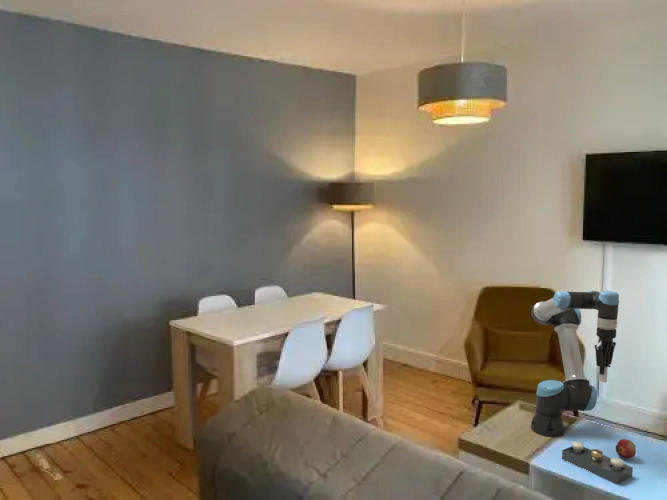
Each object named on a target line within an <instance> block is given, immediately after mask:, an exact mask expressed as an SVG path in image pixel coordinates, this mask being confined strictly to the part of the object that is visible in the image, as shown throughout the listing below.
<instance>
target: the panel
mask: <svg viewBox="0 0 667 500" xmlns="http://www.w3.org/2000/svg"><path fill="white" fill-rule="evenodd" d="M591 450H592V449H590V448H587V447H585V446H584V449H583V450H582V453H581V454H579V453H577V452H575V451H573V447H572V445H571V446H569V447H567V448H564V449H562V451H561V460H562V459H564V460H563V461H565V460H566V461H565V462H567V461H568V462H567V463H569V462H570V464H571V463H572V464H571V465H573V464H574V466H576V467H578V468H580V467H581V468H580V469H582V468H584V469H586V470H585V471H587V470H588V471H587V472H589V471H590V472H589V473H591V472H592V473H591V474H593V473H594V475H595V474H596V476H598V477H600V478H602V479H605V480H607V481H609V482H610V483H614V484H615V485H620V484H621V483H623V482H626V481H627V480H629V479H631V478H632V477H633V471H634V468H633V466H631V465H628V464H626V463H624V466H623V467H622V470H621V471H619V470H616V469H614V468H612V464H611V458H612V457H609V456H607V455H604V454H603V459H602V461H595V460H593V459H591ZM584 469H583V470H584Z"/></svg>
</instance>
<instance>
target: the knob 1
mask: <svg viewBox="0 0 667 500" xmlns="http://www.w3.org/2000/svg"><path fill="white" fill-rule="evenodd" d="M571 446H572V447H573V451H575V452H577V453H579V454H581V453H582V450H583V449H584V447H585V444H584V443H582V442H580V441H572V442H571Z"/></svg>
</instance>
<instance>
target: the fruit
mask: <svg viewBox="0 0 667 500" xmlns="http://www.w3.org/2000/svg"><path fill="white" fill-rule="evenodd" d="M615 451H616V453H617V455H618V456H619V457H620V458H623V459H626V460H629V459H633V458H634V457H635V455H636V453H637V449H636V445H635V443H634V442H633V441H631V440H629V439H627V438H621V439H619V441H618V442H617V443H616V445H615Z"/></svg>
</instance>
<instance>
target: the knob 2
mask: <svg viewBox="0 0 667 500" xmlns="http://www.w3.org/2000/svg"><path fill="white" fill-rule="evenodd" d="M610 458H611V464H612V468H614V469H616V470H619V471H621V470H622V467H623V466H624V464H625V461H624V460H623V459H621V458H620V457H619V458H618V457H610Z"/></svg>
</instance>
